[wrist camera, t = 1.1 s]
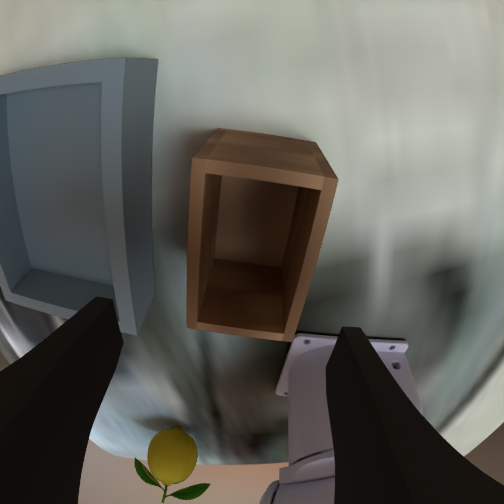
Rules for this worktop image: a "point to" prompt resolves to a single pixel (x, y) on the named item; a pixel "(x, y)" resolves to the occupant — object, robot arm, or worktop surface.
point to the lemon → (171, 463)
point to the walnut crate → (255, 232)
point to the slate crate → (78, 187)
